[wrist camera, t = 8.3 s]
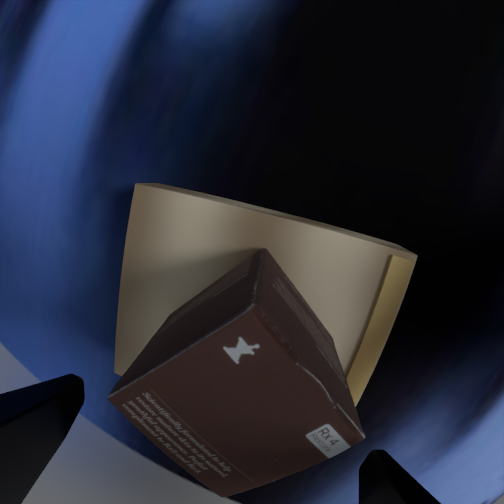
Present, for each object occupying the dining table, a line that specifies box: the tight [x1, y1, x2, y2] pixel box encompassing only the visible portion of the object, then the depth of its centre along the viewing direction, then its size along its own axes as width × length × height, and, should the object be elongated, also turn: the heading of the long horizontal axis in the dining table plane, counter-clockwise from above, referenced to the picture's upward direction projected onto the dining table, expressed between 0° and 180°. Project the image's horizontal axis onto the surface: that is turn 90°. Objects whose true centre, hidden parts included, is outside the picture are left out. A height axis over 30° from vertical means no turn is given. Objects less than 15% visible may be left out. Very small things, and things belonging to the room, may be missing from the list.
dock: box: [114, 183, 418, 407], centre depth 17 cm, size 14×11×3 cm
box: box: [108, 248, 365, 497], centre depth 12 cm, size 6×6×7 cm
